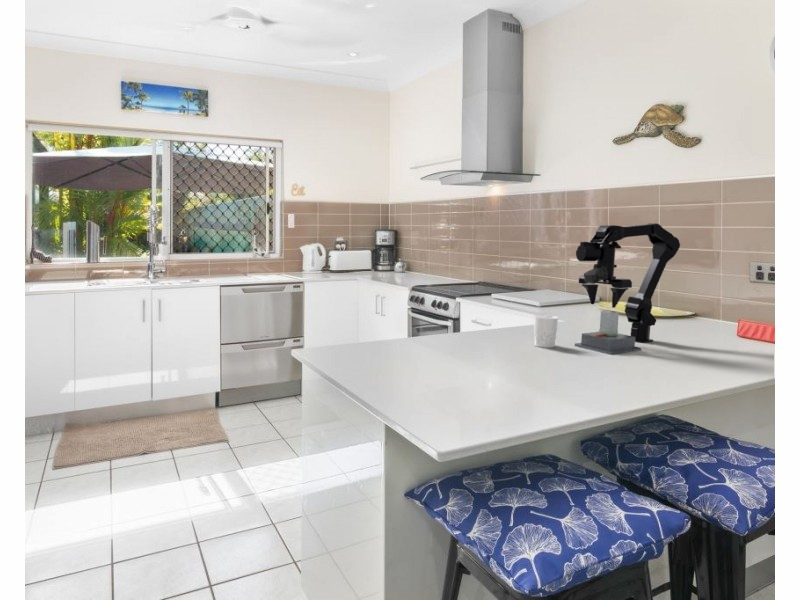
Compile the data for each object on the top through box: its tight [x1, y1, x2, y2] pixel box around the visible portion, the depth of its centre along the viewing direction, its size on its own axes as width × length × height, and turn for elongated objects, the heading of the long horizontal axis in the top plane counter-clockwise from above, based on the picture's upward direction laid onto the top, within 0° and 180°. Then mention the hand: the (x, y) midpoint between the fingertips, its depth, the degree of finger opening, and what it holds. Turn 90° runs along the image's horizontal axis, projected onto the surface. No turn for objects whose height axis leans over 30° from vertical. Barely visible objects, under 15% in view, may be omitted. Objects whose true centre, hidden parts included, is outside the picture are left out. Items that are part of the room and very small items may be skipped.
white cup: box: [533, 314, 559, 349], centre depth 192 cm, size 8×8×10 cm
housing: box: [574, 331, 642, 356], centre depth 190 cm, size 15×15×5 cm
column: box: [598, 310, 620, 337], centre depth 189 cm, size 4×4×8 cm
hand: (602, 305), depth 199 cm, fingers open, 9 cm apart
